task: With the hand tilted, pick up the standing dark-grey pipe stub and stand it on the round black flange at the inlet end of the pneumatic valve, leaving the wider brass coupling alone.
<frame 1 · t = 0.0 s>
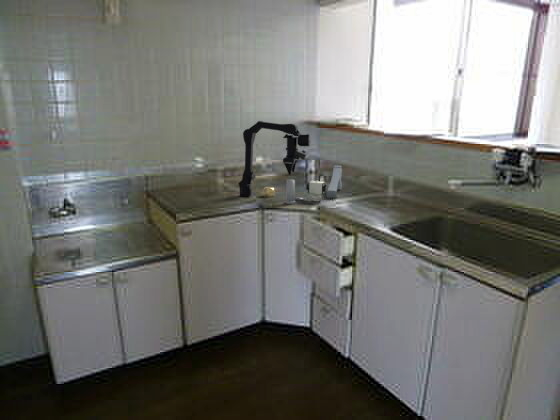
hand: (291, 173, 222), 15 cm above the counter, tool pointing down, fingers open, 9 cm apart
brass coupling: (269, 196, 232), on the counter
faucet: (334, 193, 240), on the counter
pipe stub: (290, 203, 213), on the counter
pneumatic valve: (317, 201, 220), on the counter
flange: (299, 199, 222), on the counter
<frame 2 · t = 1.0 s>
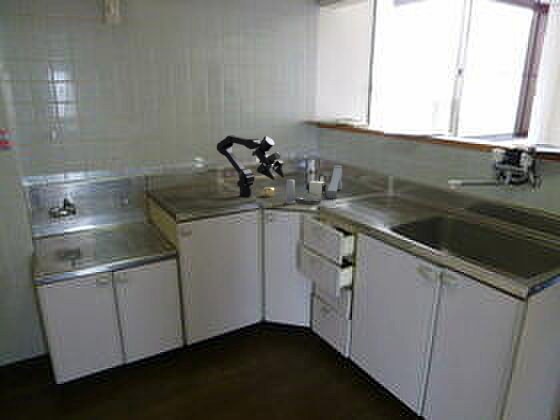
hand: (278, 178, 215), 13 cm above the counter, tool tilted 45°, fingers open, 9 cm apart
nothing on the counter moved.
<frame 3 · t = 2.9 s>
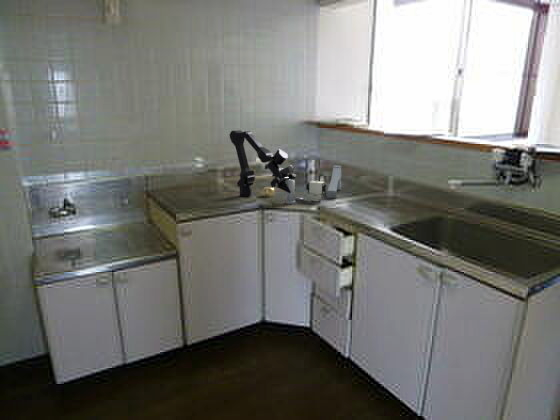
hand: (292, 192, 211), 7 cm above the counter, tool tilted 45°, fingers closed on pipe stub, 5 cm apart
pipe stub: (290, 203, 213), on the counter, touching gripper
everything else where it was.
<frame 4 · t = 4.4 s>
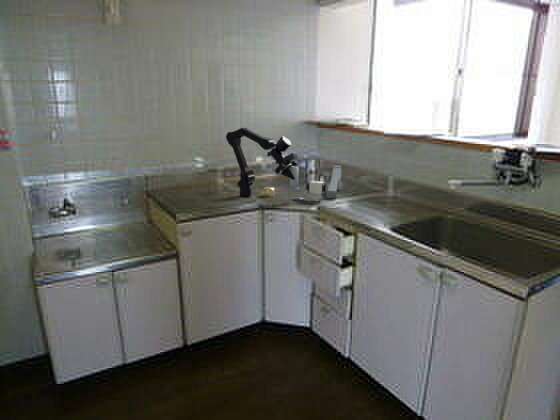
hand: (296, 178, 212), 13 cm above the counter, tool tilted 45°, fingers closed on pipe stub, 5 cm apart
pipe stub: (294, 190, 214), point 7 cm above the counter, touching gripper
everything else where it was.
when the fingers open (8 cm above the counter, at t = 6.1 s): pipe stub stays where it is, resting on flange.
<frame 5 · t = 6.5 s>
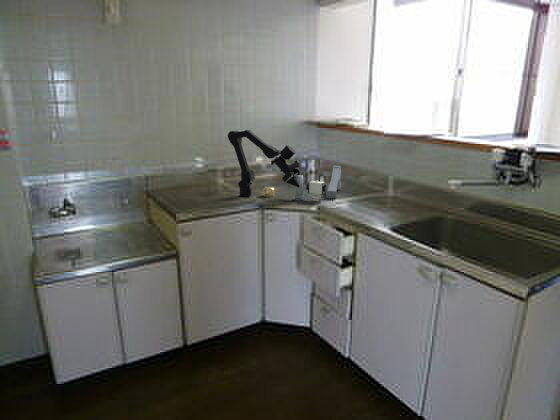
hand: (301, 185, 219), 8 cm above the counter, tool tilted 45°, fingers open, 9 cm apart
pipe stub: (299, 198, 222), point 1 cm above the counter, touching flange
everything else where it was.
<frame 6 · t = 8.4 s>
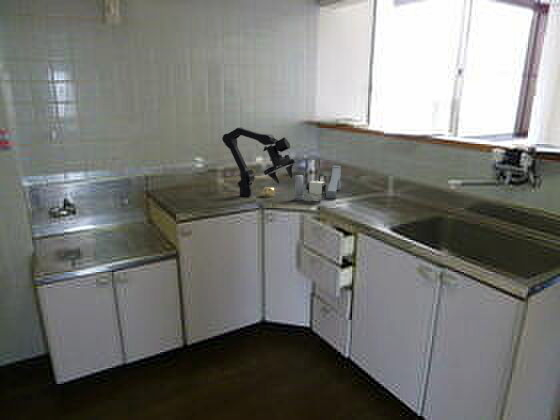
hand: (285, 180, 220), 11 cm above the counter, tool tilted 25°, fingers open, 9 cm apart
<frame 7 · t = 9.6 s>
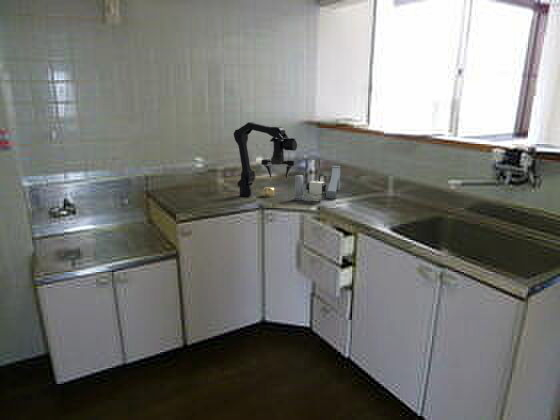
hand: (278, 177, 219), 13 cm above the counter, tool pointing down, fingers open, 9 cm apart
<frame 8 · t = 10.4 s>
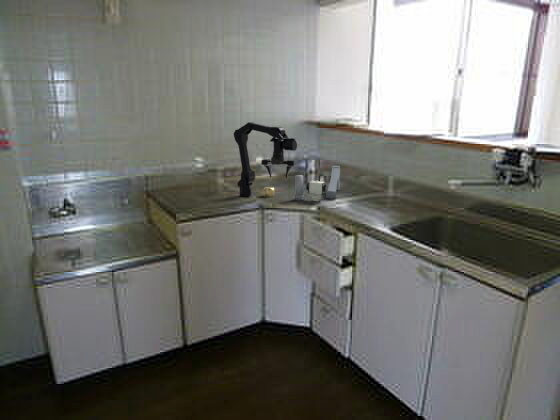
hand: (278, 177, 219), 13 cm above the counter, tool pointing down, fingers open, 9 cm apart
at the end: pipe stub 0.1 cm from the target spot, point 1.0 cm above the counter; pipe stub tilted 0°; the gripper is holding nothing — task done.
